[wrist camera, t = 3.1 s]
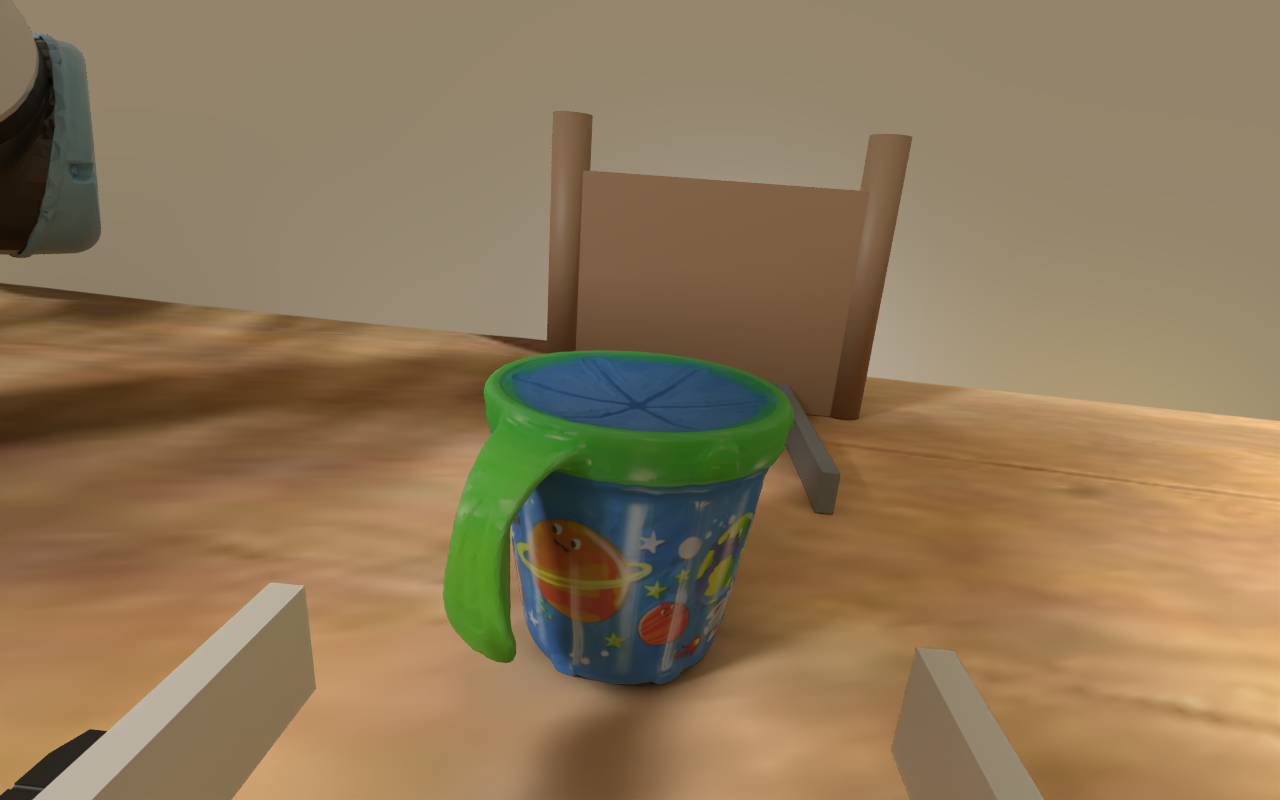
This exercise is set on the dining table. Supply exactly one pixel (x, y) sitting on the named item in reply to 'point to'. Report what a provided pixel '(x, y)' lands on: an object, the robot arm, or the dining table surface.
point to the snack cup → (611, 508)
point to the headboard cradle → (728, 277)
